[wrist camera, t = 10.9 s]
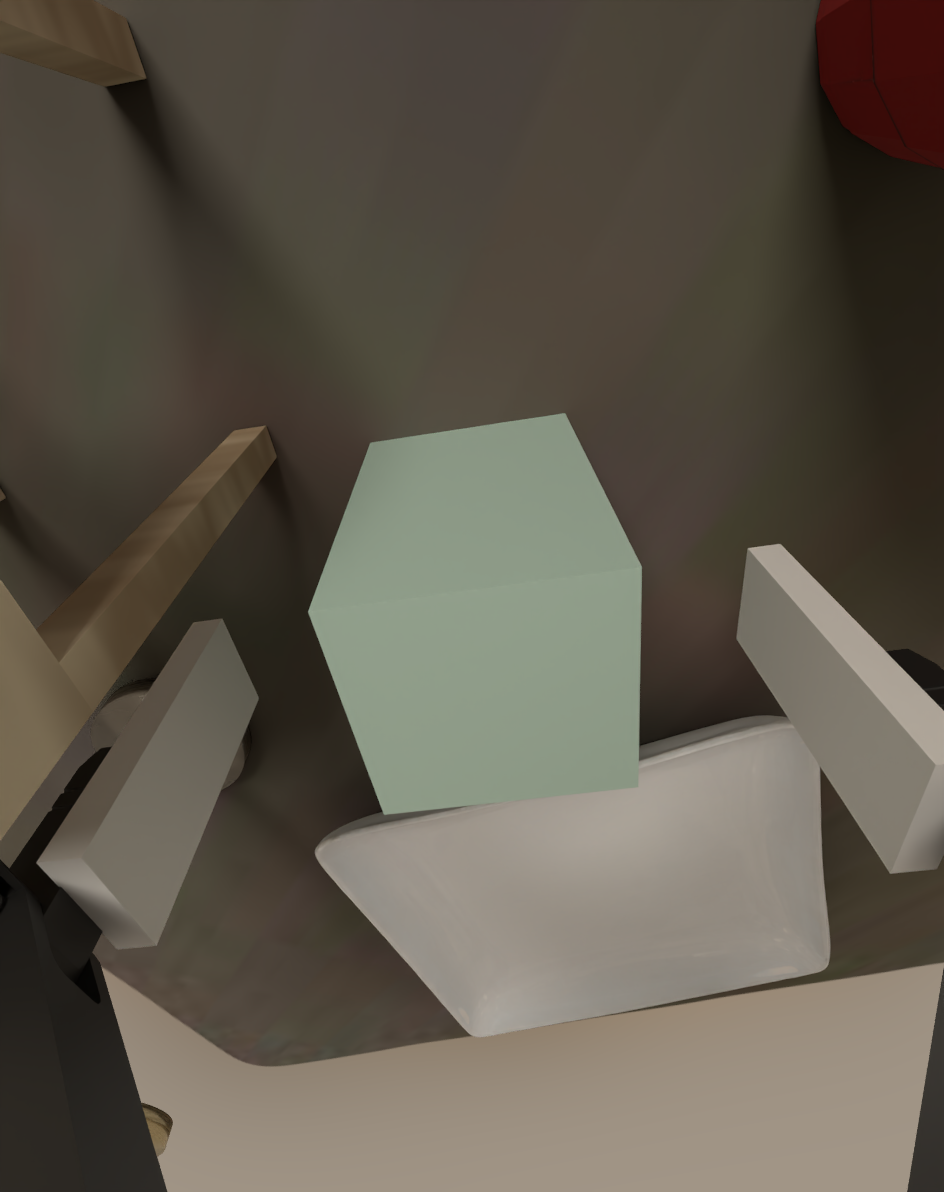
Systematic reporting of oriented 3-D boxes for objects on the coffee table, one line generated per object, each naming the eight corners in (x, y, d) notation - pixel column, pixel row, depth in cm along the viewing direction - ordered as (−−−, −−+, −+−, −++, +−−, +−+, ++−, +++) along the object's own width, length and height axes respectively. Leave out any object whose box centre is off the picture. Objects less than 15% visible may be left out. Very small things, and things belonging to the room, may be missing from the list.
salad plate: (780, 660, 24) (824, 722, 21) (805, 916, 35) (836, 979, 32) (315, 786, 28) (298, 853, 25) (472, 980, 39) (473, 1042, 36)
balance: (13, 599, 21) (-630, 1170, 9) (173, 577, 21) (-260, 1143, 8) (182, 840, 29) (-24, 1314, 17) (300, 828, 29) (178, 1303, 16)
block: (370, 442, 18) (307, 611, 11) (564, 413, 18) (642, 567, 10) (410, 601, 21) (383, 814, 14) (574, 579, 21) (638, 787, 14)
